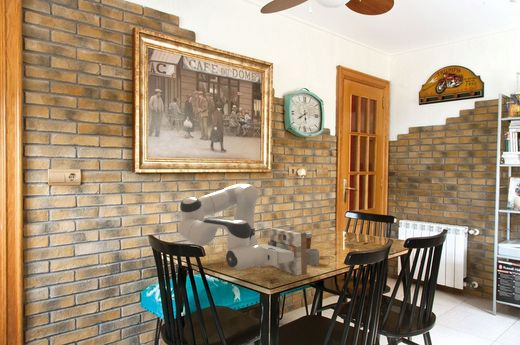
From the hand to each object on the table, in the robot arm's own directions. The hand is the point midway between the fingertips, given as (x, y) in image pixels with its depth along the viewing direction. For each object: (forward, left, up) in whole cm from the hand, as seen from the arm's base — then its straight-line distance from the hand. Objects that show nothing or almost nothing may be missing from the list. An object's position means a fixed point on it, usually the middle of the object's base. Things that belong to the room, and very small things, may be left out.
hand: (290, 251), depth 175 cm
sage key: (-7, -2, -2) cm, 8 cm away
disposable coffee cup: (-35, +20, -10) cm, 42 cm away
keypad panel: (-8, +1, -10) cm, 13 cm away
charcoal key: (-15, -4, -2) cm, 15 cm away
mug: (-15, +15, -10) cm, 24 cm away
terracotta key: (0, +2, -2) cm, 3 cm away
